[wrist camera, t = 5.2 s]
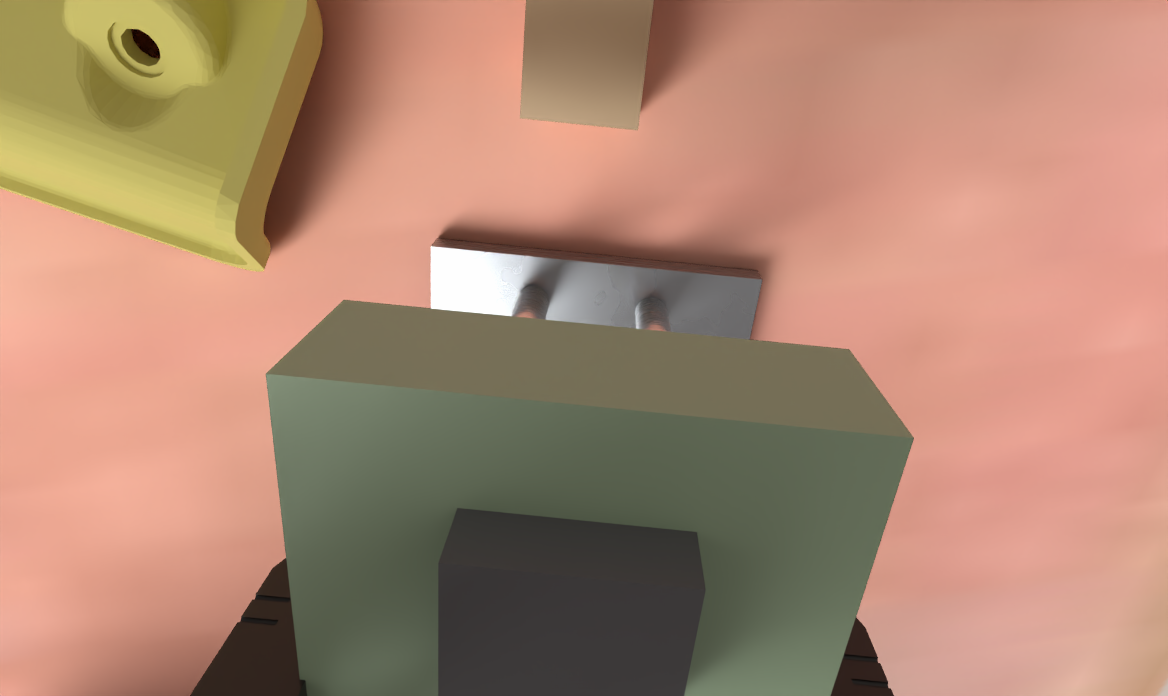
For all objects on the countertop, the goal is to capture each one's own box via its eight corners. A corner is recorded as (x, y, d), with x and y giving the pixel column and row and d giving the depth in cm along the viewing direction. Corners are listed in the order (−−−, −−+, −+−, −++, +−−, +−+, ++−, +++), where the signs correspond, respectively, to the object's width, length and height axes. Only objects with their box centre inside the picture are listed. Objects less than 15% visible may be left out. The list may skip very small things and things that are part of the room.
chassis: (437, 238, 26) (391, 296, 21) (756, 270, 26) (794, 337, 21) (436, 566, 33) (401, 674, 28) (690, 591, 33) (704, 704, 28)
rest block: (542, -100, 21) (531, -116, 19) (659, -87, 21) (666, -102, 19) (530, 106, 24) (520, 118, 21) (635, 117, 24) (637, 130, 21)
